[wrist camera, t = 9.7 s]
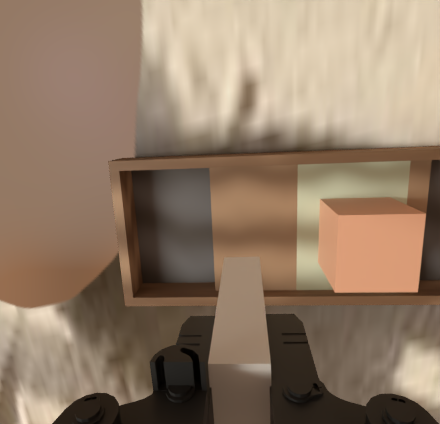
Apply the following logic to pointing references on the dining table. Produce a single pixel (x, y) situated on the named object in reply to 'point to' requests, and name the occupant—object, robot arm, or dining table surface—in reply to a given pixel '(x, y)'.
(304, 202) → the trap box
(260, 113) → the dining table surface
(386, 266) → the block
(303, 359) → the robot arm
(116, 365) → the dining table surface
